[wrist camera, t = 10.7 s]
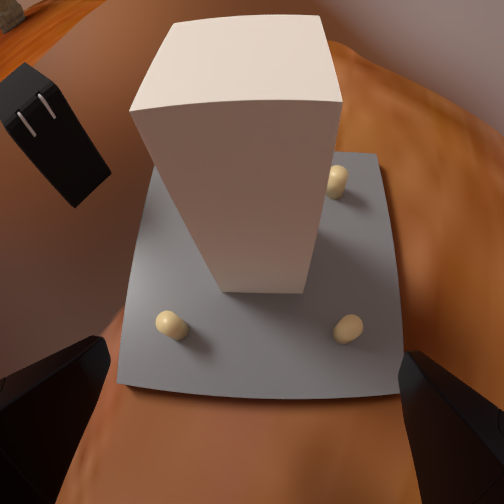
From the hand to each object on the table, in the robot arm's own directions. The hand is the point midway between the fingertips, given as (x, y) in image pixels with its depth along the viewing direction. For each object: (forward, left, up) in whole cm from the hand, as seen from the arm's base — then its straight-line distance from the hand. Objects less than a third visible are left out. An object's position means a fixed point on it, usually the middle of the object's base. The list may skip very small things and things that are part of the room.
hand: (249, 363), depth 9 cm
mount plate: (+6, -2, -9) cm, 11 cm away
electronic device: (+20, +11, -9) cm, 25 cm away
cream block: (+6, -2, -8) cm, 11 cm away
